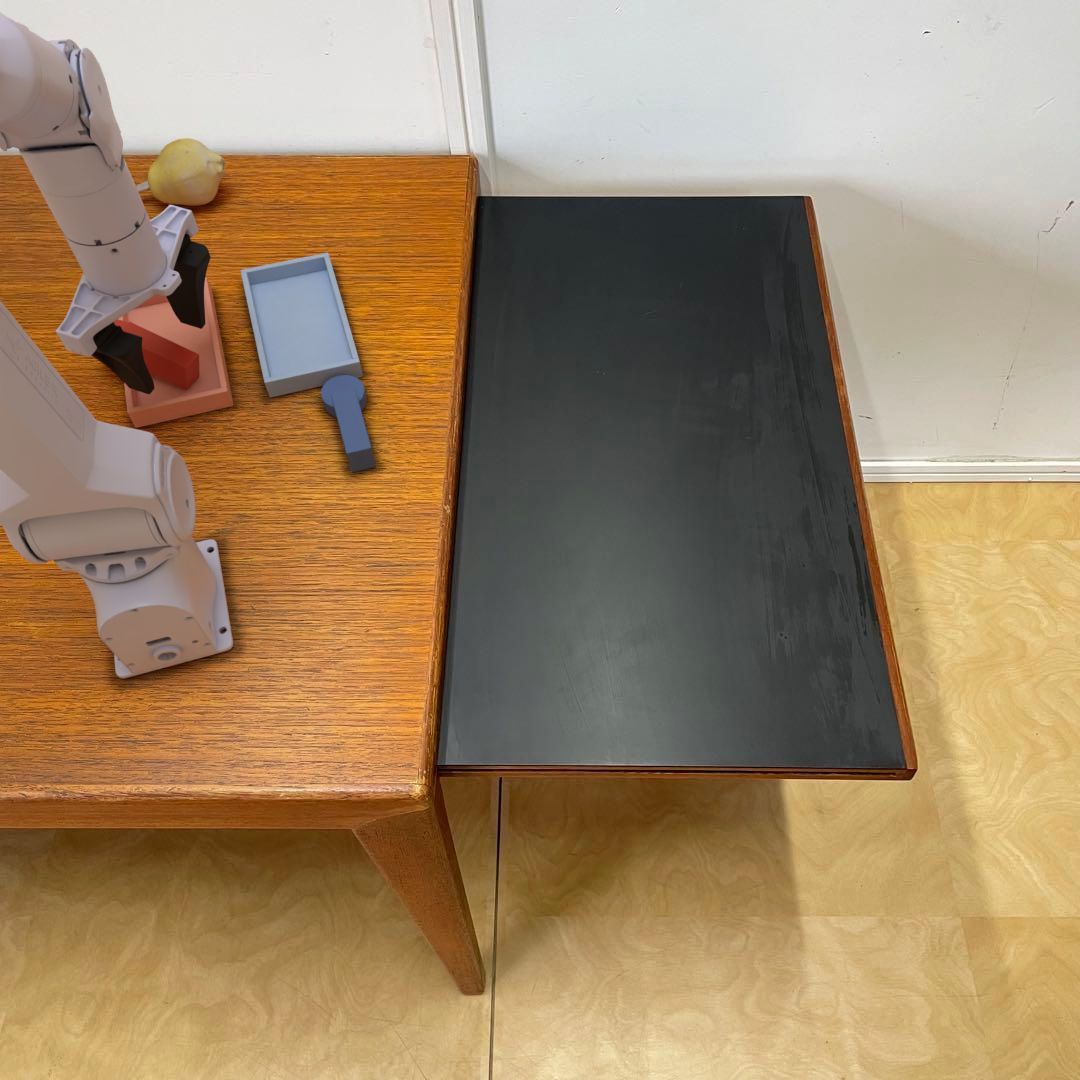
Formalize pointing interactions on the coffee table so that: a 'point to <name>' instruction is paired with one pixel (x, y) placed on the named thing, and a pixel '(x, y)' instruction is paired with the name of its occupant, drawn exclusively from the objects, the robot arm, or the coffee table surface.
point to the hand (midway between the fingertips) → (168, 354)
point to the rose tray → (206, 342)
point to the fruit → (185, 173)
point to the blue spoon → (350, 418)
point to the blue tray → (299, 324)
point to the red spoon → (165, 356)
